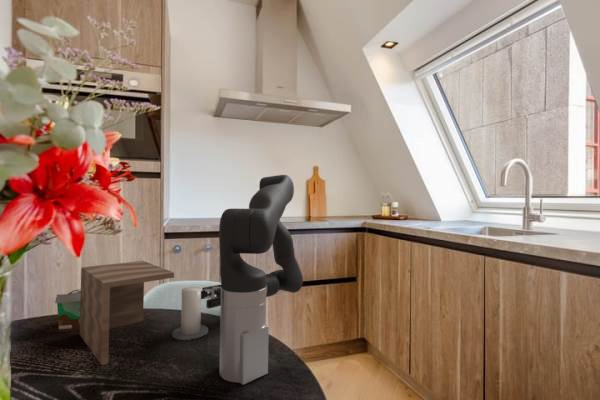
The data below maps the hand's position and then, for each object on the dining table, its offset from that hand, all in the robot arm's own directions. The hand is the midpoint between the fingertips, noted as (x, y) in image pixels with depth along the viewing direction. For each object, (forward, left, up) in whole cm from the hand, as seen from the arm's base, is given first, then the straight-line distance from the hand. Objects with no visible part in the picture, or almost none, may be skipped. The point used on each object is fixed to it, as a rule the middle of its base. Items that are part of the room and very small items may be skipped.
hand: (199, 300), depth 85 cm
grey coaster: (0, +2, -8) cm, 8 cm away
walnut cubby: (+7, +16, -8) cm, 19 cm away
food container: (+25, +21, -8) cm, 34 cm away
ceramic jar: (0, +2, -7) cm, 8 cm away
